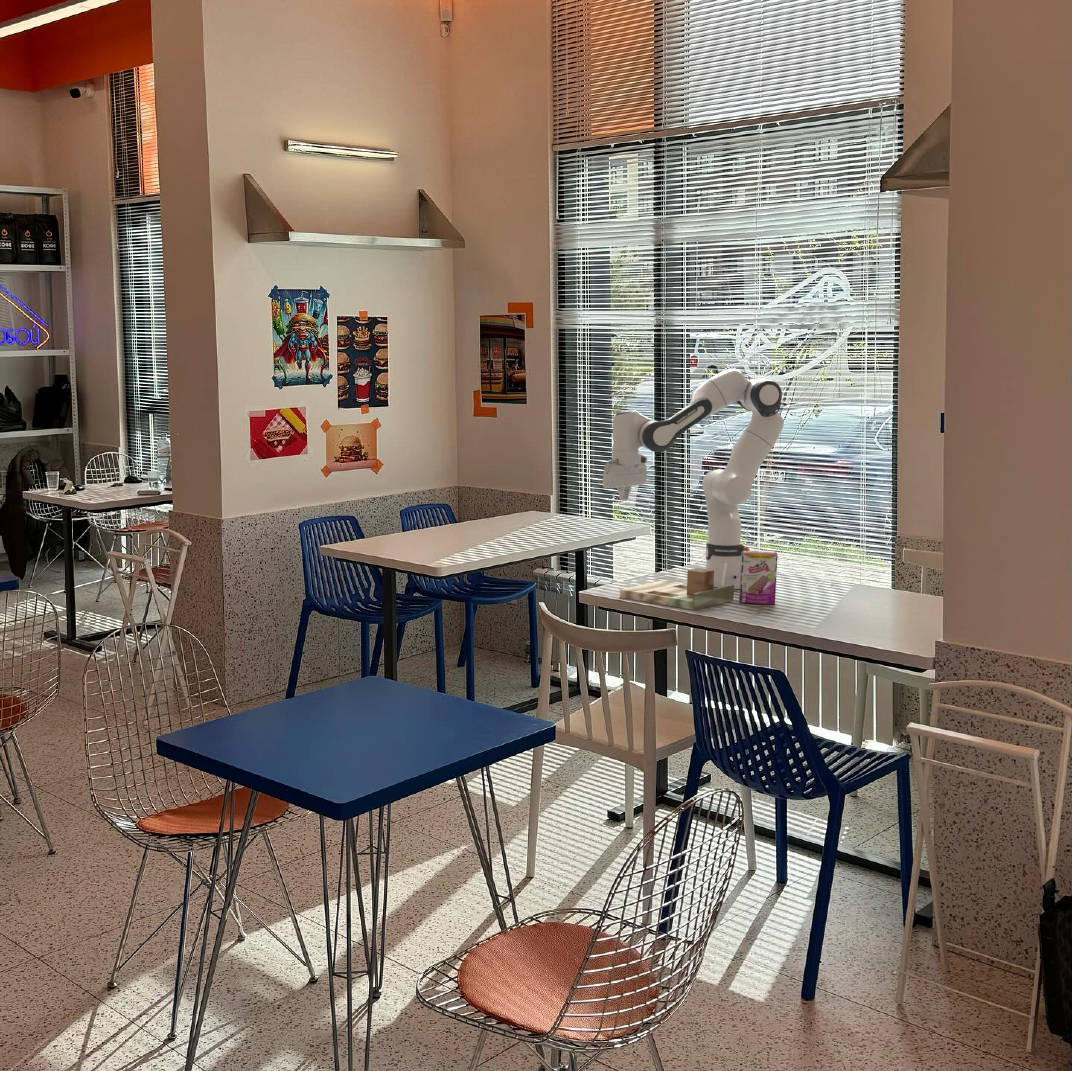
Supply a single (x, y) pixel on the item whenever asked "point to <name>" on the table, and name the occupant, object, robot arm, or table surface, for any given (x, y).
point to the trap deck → (678, 595)
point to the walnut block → (699, 580)
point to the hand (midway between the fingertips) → (624, 499)
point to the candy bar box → (758, 577)
